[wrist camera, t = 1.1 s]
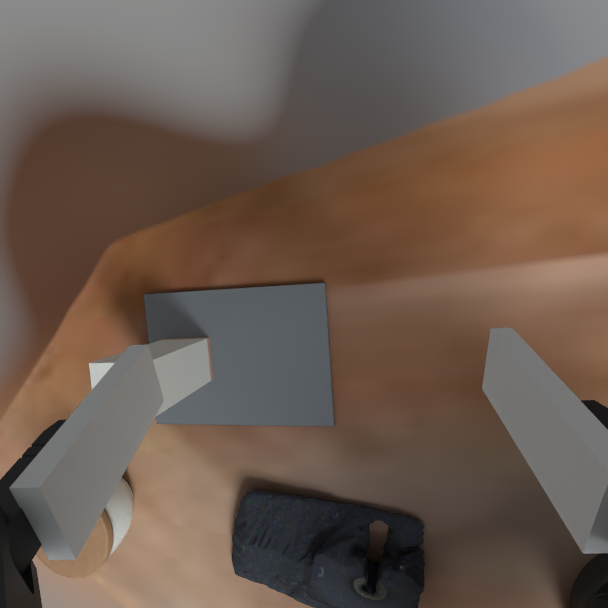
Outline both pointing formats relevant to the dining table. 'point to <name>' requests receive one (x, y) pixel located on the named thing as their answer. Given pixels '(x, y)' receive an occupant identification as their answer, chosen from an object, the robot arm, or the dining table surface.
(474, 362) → the dining table surface
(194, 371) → the block
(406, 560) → the dark slate chunk
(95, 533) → the lidded jar
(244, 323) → the mat
